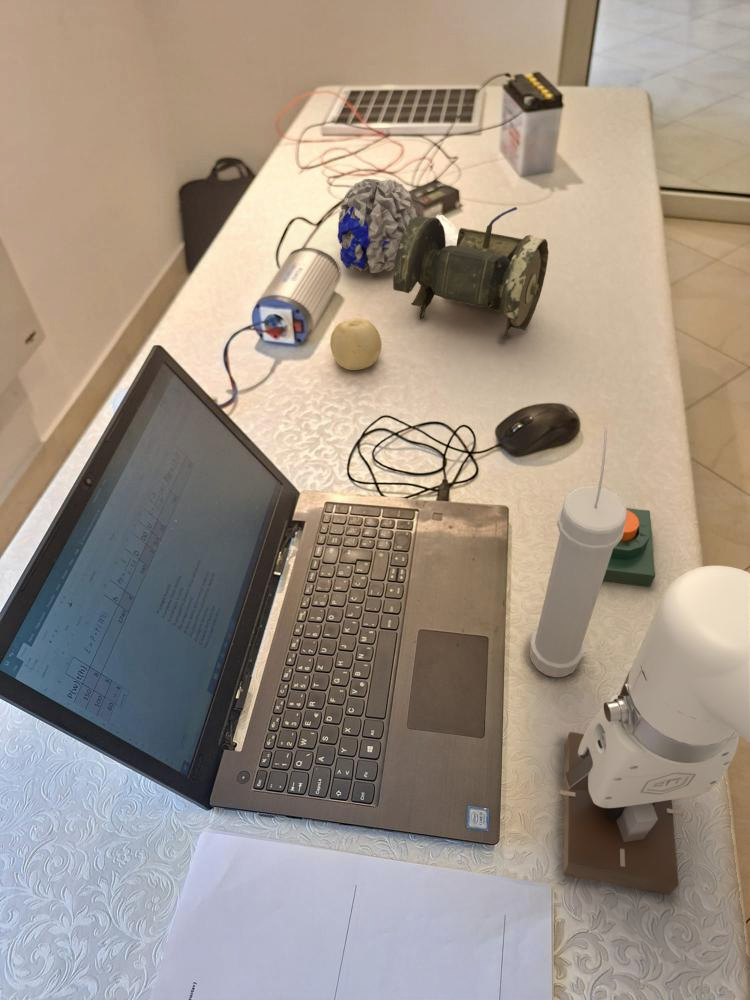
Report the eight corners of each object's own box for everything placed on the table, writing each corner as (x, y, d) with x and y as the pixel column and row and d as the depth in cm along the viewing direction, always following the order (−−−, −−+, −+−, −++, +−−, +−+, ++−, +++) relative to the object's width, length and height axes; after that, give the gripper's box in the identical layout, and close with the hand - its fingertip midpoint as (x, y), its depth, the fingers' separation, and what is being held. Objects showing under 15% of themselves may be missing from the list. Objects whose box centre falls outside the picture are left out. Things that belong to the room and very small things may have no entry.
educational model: (339, 296, 138) (321, 248, 124) (356, 207, 143) (340, 151, 129) (411, 300, 135) (401, 250, 121) (425, 209, 140) (417, 152, 126)
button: (636, 543, 83) (640, 534, 82) (604, 540, 84) (607, 530, 83) (635, 520, 86) (638, 510, 85) (603, 516, 86) (606, 507, 85)
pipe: (527, 677, 77) (574, 480, 54) (527, 626, 81) (570, 425, 59) (581, 682, 76) (650, 485, 54) (578, 631, 80) (641, 429, 58)
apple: (346, 383, 110) (323, 338, 107) (342, 372, 118) (320, 329, 115) (392, 359, 110) (370, 313, 107) (385, 349, 117) (364, 306, 114)
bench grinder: (509, 358, 108) (550, 217, 100) (377, 317, 115) (405, 182, 106) (538, 341, 125) (575, 220, 117) (422, 307, 132) (449, 190, 124)
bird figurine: (422, 251, 139) (444, 263, 131) (426, 213, 136) (448, 223, 128) (446, 250, 141) (469, 262, 133) (449, 213, 137) (473, 223, 129)
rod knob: (643, 839, 63) (659, 818, 59) (623, 842, 62) (637, 821, 59) (617, 765, 67) (630, 741, 63) (598, 768, 67) (609, 744, 63)
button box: (650, 587, 84) (659, 566, 81) (579, 578, 85) (585, 557, 82) (645, 522, 90) (653, 500, 87) (579, 514, 91) (585, 493, 89)
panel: (679, 897, 62) (690, 887, 60) (552, 873, 64) (557, 862, 61) (668, 761, 70) (677, 748, 68) (555, 743, 72) (560, 729, 69)
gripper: (584, 774, 48) (546, 859, 61) (814, 740, 49) (726, 831, 62) (551, 672, 53) (523, 772, 66) (760, 643, 54) (689, 748, 67)
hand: (621, 800), depth 64 cm, fingers closed on rod knob, 2 cm apart
